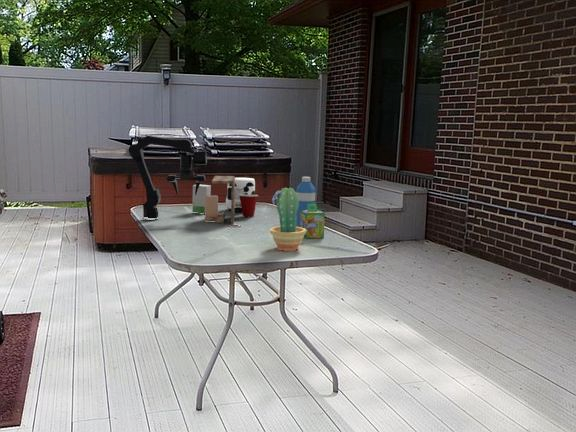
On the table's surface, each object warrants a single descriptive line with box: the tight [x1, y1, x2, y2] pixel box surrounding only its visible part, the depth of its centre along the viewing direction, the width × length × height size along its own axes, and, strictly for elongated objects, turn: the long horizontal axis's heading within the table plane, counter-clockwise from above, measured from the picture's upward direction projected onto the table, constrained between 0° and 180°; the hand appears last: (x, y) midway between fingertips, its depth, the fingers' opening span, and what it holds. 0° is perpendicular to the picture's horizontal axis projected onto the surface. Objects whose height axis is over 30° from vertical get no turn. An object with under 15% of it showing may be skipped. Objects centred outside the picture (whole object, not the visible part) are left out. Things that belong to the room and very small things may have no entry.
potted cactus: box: [269, 187, 307, 252], centre depth 239 cm, size 15×16×25 cm
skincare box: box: [191, 184, 212, 213], centre depth 321 cm, size 8×7×16 cm
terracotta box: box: [205, 195, 219, 217], centre depth 301 cm, size 6×6×12 cm
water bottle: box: [295, 176, 317, 227], centre depth 283 cm, size 9×9×25 cm
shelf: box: [204, 175, 236, 226], centre depth 300 cm, size 14×24×22 cm, turn 4°
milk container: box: [225, 177, 256, 212], centre depth 333 cm, size 17×17×18 cm
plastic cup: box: [239, 194, 259, 218], centre depth 315 cm, size 11×11×12 cm
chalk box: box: [300, 203, 326, 239], centre depth 265 cm, size 9×9×15 cm
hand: (186, 195), depth 298 cm, fingers open, 9 cm apart
